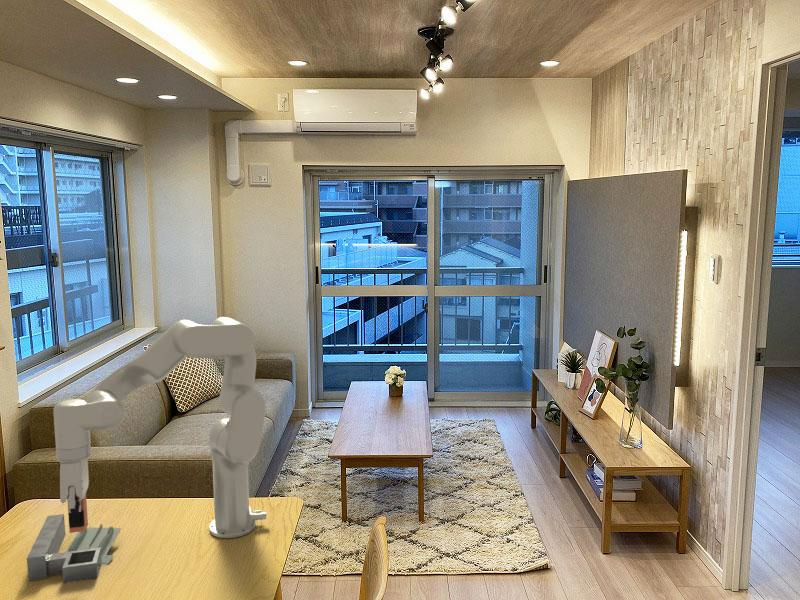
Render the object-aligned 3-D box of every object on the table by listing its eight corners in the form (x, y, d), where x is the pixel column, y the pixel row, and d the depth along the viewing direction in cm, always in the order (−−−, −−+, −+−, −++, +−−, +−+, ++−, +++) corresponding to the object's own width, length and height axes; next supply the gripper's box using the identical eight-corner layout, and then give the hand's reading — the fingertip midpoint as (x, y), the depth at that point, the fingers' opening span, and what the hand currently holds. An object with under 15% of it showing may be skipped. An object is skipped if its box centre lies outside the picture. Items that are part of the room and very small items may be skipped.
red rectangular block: (87, 524, 161) (85, 486, 159) (85, 531, 158) (83, 492, 156) (72, 526, 160) (69, 487, 158) (69, 532, 157) (67, 493, 155)
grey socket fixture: (111, 528, 182) (110, 508, 181) (97, 578, 158) (95, 555, 157) (49, 536, 178) (47, 515, 177) (25, 588, 154) (23, 565, 153)
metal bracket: (73, 519, 176) (128, 520, 175) (78, 535, 178) (132, 536, 178) (46, 561, 163) (104, 563, 162) (51, 578, 165) (109, 579, 165)
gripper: (63, 440, 163) (68, 509, 165) (48, 466, 147) (54, 541, 150) (96, 437, 165) (100, 505, 167) (84, 462, 149) (89, 537, 152)
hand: (78, 521), depth 159 cm, fingers closed on red rectangular block, 3 cm apart
